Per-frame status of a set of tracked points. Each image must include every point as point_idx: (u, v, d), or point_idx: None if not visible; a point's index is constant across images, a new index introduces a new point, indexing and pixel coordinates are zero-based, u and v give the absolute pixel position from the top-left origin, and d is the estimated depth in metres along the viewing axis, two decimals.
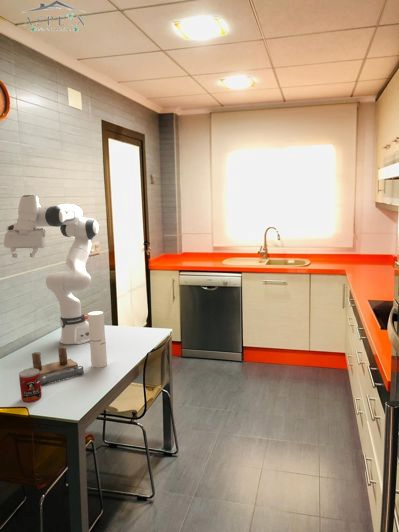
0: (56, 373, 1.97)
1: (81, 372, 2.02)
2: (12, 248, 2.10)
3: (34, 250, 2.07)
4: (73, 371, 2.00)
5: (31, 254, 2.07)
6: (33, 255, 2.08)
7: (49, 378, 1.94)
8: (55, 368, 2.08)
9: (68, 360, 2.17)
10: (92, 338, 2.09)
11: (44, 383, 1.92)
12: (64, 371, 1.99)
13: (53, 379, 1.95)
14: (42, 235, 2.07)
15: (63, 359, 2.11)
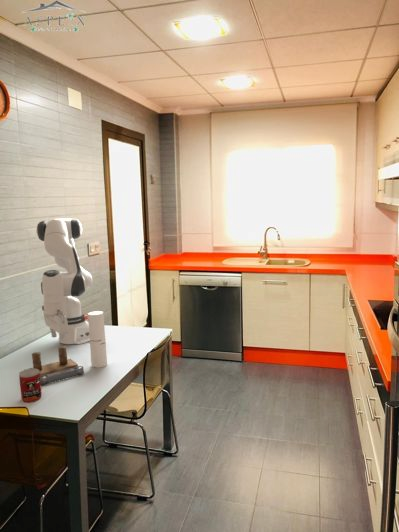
0: (56, 373, 1.97)
1: (81, 372, 2.02)
2: (50, 328, 1.99)
3: (59, 336, 1.90)
4: (73, 371, 2.00)
5: (59, 339, 1.91)
6: (61, 340, 1.91)
7: (49, 378, 1.94)
8: (55, 368, 2.08)
9: (68, 360, 2.17)
10: (92, 338, 2.09)
11: (44, 383, 1.92)
12: (64, 371, 1.99)
13: (53, 379, 1.95)
14: (60, 321, 1.86)
15: (63, 359, 2.11)
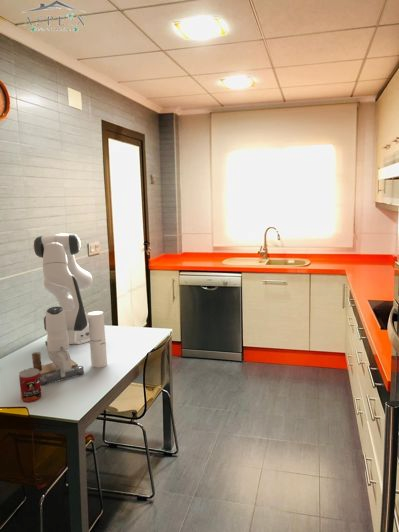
0: (56, 373, 1.97)
1: (81, 372, 2.02)
2: (55, 364, 2.00)
3: (61, 371, 1.94)
4: (73, 371, 2.00)
5: (60, 374, 1.96)
6: (62, 375, 1.96)
7: (49, 378, 1.94)
8: (55, 368, 2.08)
9: None
10: (92, 338, 2.09)
11: (44, 383, 1.92)
12: None
13: (53, 378, 1.95)
14: (63, 359, 1.88)
15: None
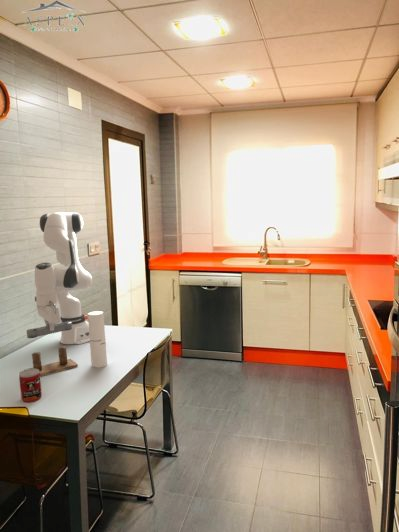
0: (45, 327, 2.03)
1: (70, 327, 2.08)
2: (44, 319, 2.06)
3: (50, 325, 2.01)
4: (62, 325, 2.06)
5: (49, 328, 2.02)
6: (51, 328, 2.02)
7: (39, 331, 2.00)
8: (55, 368, 2.08)
9: (68, 360, 2.17)
10: (92, 338, 2.09)
11: (33, 336, 1.99)
12: None
13: (42, 332, 2.01)
14: (52, 312, 1.95)
15: (63, 359, 2.11)
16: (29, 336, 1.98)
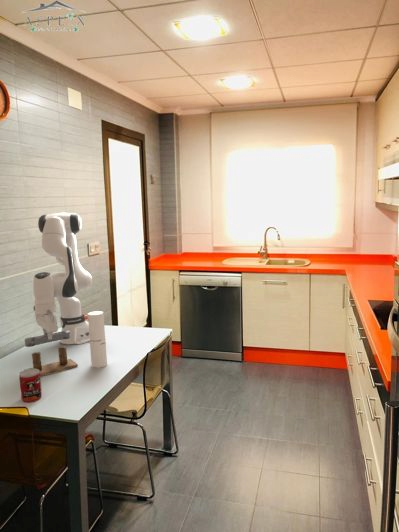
0: (43, 336, 2.06)
1: (67, 336, 2.11)
2: (43, 328, 2.09)
3: (48, 333, 2.03)
4: (60, 334, 2.09)
5: (47, 337, 2.05)
6: (49, 337, 2.05)
7: (37, 340, 2.03)
8: (55, 368, 2.08)
9: (68, 360, 2.17)
10: (92, 338, 2.09)
11: (31, 344, 2.01)
12: None
13: (40, 341, 2.04)
14: (50, 321, 1.98)
15: (63, 359, 2.11)
16: (27, 345, 2.01)
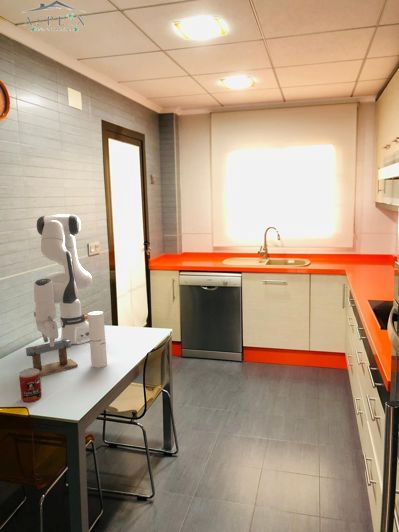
0: (44, 345, 2.07)
1: (68, 344, 2.12)
2: (42, 333, 2.11)
3: (50, 341, 2.02)
4: (60, 343, 2.10)
5: (49, 344, 2.04)
6: (51, 344, 2.04)
7: (38, 349, 2.04)
8: (55, 368, 2.08)
9: (68, 360, 2.17)
10: (92, 338, 2.09)
11: (32, 354, 2.02)
12: None
13: (41, 350, 2.05)
14: (50, 327, 1.98)
15: (63, 359, 2.11)
16: (28, 354, 2.02)
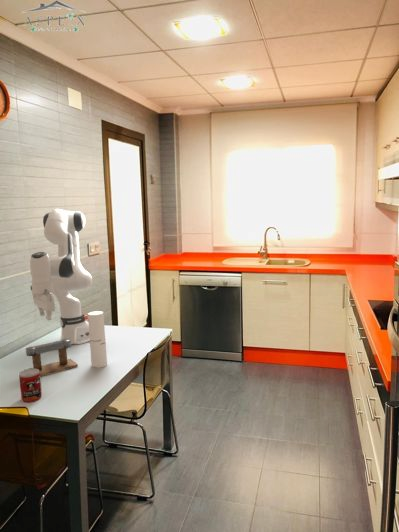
0: (44, 345, 2.07)
1: (68, 344, 2.12)
2: (38, 307, 2.11)
3: (47, 314, 2.02)
4: (60, 343, 2.10)
5: (46, 317, 2.04)
6: (48, 318, 2.03)
7: (38, 349, 2.04)
8: (55, 368, 2.08)
9: (68, 360, 2.17)
10: (92, 338, 2.09)
11: (32, 354, 2.02)
12: (52, 343, 2.09)
13: (41, 350, 2.05)
14: (47, 300, 1.98)
15: (63, 359, 2.11)
16: (28, 354, 2.02)
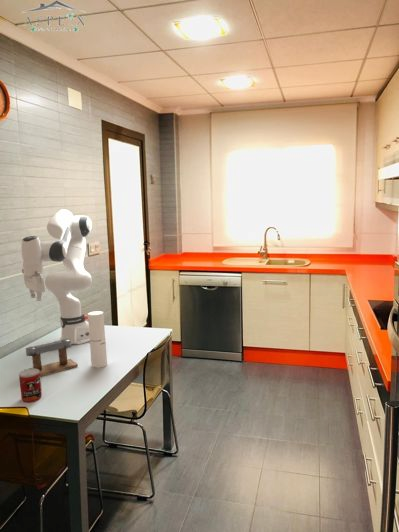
0: (44, 345, 2.07)
1: (68, 344, 2.12)
2: (30, 289, 2.20)
3: (37, 295, 2.10)
4: (60, 343, 2.10)
5: (36, 298, 2.12)
6: (38, 299, 2.12)
7: (38, 349, 2.04)
8: (55, 368, 2.08)
9: (68, 360, 2.17)
10: (92, 338, 2.09)
11: (32, 354, 2.02)
12: (52, 343, 2.09)
13: (41, 350, 2.05)
14: (37, 281, 2.07)
15: (63, 359, 2.11)
16: (28, 354, 2.02)
